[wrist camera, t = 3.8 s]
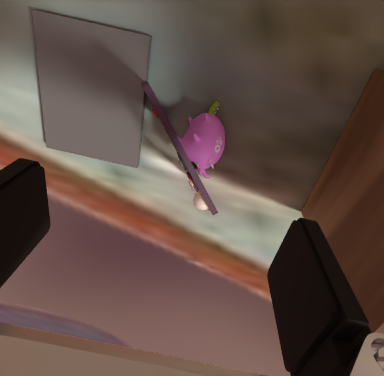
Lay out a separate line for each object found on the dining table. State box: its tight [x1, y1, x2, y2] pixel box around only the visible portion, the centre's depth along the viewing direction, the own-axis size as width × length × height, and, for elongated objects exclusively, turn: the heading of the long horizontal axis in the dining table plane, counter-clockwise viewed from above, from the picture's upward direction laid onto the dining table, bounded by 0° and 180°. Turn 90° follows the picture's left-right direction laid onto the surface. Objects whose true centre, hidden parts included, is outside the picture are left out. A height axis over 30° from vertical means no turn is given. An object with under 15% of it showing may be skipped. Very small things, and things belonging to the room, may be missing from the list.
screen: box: [302, 69, 384, 334], centre depth 16 cm, size 2×12×12 cm, turn 169°
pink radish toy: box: [141, 81, 225, 215], centre depth 18 cm, size 7×5×9 cm
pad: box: [32, 10, 151, 168], centre depth 20 cm, size 8×10×1 cm
